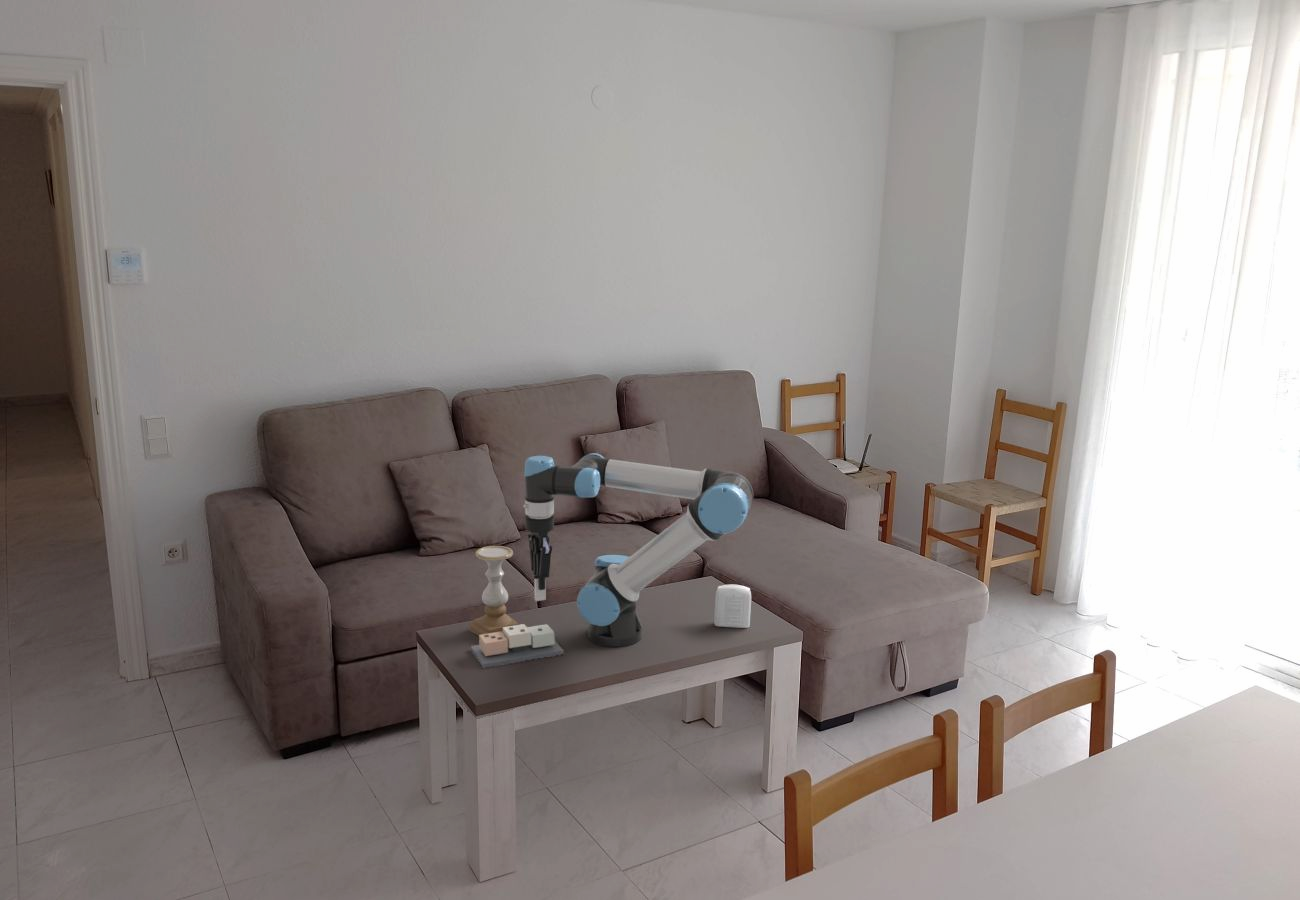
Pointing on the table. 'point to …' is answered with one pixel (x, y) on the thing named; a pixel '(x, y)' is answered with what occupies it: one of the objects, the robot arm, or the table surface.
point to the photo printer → (732, 606)
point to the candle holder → (493, 593)
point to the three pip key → (493, 643)
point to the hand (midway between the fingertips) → (540, 599)
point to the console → (516, 654)
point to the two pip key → (517, 635)
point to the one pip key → (541, 636)
